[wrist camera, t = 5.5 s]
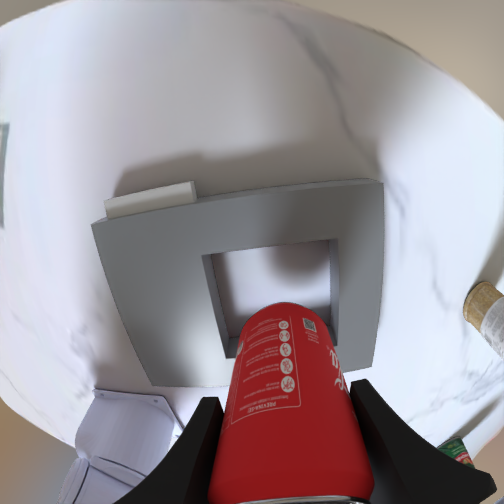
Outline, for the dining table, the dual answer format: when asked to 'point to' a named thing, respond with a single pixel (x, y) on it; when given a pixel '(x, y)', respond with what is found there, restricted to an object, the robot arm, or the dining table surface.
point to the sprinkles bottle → (487, 314)
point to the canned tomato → (456, 450)
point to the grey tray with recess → (225, 240)
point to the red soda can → (289, 418)
